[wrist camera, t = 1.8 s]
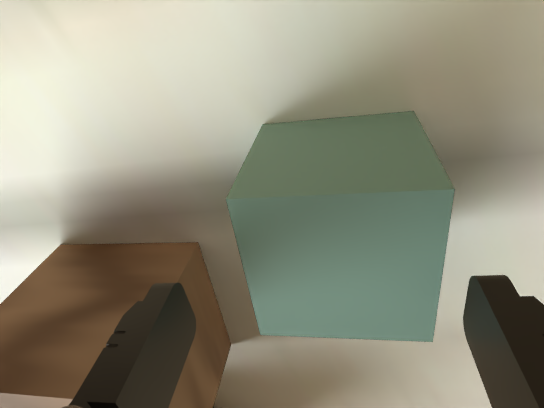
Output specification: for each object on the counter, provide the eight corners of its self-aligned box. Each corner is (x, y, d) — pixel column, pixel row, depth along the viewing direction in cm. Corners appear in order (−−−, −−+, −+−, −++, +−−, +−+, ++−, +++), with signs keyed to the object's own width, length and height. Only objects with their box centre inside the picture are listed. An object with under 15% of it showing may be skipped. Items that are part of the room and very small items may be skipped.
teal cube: (413, 110, 13) (454, 189, 8) (405, 233, 16) (432, 341, 11) (262, 123, 14) (226, 199, 9) (281, 235, 17) (260, 334, 12)
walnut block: (198, 241, 18) (115, 403, 11) (231, 343, 22) (185, 504, 15) (61, 243, 19) (-82, 385, 13) (116, 337, 24) (29, 480, 17)
